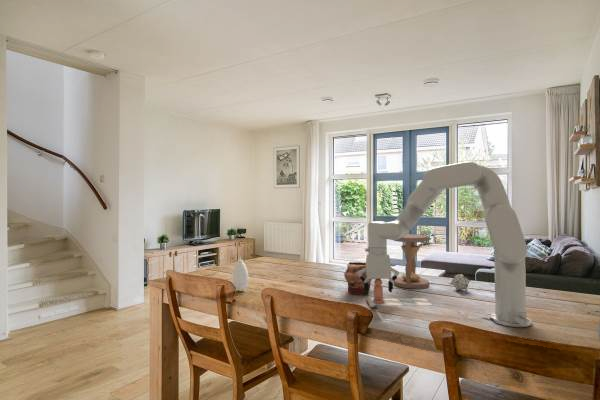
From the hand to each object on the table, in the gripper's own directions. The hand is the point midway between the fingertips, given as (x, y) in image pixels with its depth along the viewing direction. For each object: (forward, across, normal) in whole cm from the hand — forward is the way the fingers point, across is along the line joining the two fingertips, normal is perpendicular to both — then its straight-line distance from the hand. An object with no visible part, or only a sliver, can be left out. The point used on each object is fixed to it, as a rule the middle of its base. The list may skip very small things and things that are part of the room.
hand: (378, 291), depth 150 cm
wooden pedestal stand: (+6, +23, +34) cm, 41 cm away
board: (+6, +9, 0) cm, 10 cm away
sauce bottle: (+5, -63, +24) cm, 68 cm away
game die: (+6, +43, +22) cm, 49 cm away
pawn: (+4, 0, 0) cm, 4 cm away
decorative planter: (+6, -5, +21) cm, 22 cm away
